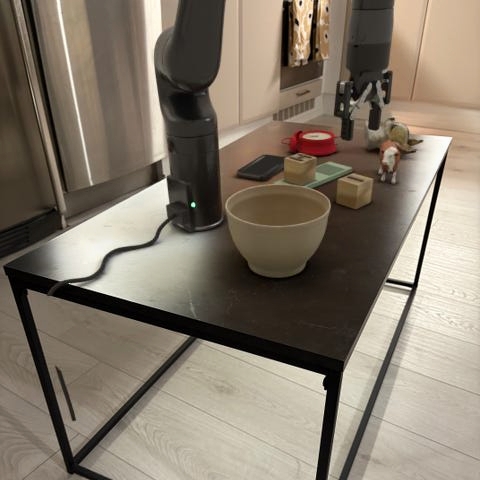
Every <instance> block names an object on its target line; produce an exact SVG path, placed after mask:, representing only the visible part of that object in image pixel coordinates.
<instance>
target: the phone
mask: <svg viewBox="0 0 480 480" xmlns="http://www.w3.org/2000/svg"><path fill="white" fill-rule="evenodd" d="M286 157H287V156H283V155H282V156H281V155H273V154H269V153H268V154H265V153H264V154H262V155H260V156H258V157H256V158H255V159H254V160H252V161H250V162H249V163H247V164H245V165H244V166H242V167H241V168H239V169H237V170H236V177H237V178H240V179H241V178H242V179H247V180H253V181H259V182H264V181H267V180H269V179H270V178H271V177H273V176H275V175H277V173H279V172H280V171H282V170H284V158H286Z"/></svg>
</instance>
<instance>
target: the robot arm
mask: <svg viewBox="0 0 480 480" xmlns="http://www.w3.org/2000/svg"><path fill="white" fill-rule="evenodd" d="M226 3H227V0H178V2H177V8H176V14H175V19H174V25H171V26H169V27H167V28H165V29H164V30H163V31H162V32H161V33H160V34H159V36H157V39H156V41H155V44H154V47H153V48H154V49H153V67H154V75H155V82H156V90H157V97H158V104H159V111H160V114H161V116H162V119H163V122H164V129H165V137H166V146H167V154H168V164H169V173H170V174H168V175H166V186H167V196H168V201H169V202H168V204H166V205H165V210H166V217H167V218H166V219H165V220H164V221H163V222H162V223H161V224H160V225H159V226H158V228H157V229H156V232H155V235H154V237H153V238H152V239H151V240H149V241H147V242H145V243H141V244H136V245H127V246H119V247H117V248H113V249H112V250H110V251H108V252H107V253H106V254H105V255H104V257H103V259H102V260H101V264H100V267H99V268H98V270H96V271H95V272H94V273H92V274H91V275H88V276H83V277H75V278H68V279H64V280H61V281H58V282H57V283H55V284H53V286H52V287H51V288H50V289H49V290H48V292H47V293H46V296H47V297H51V296H53V295H54V293H55V292H56V291H57V290H58V289H59V288H61V287H63V286H65V285H66V286H67V285H69V283H70V284H78V283H86V282H90V281H93V280H95V279H97V278H98V277H99V276H100V275H102V273H103V272H104V270H105V268H106V265H107V263H108V261H109V259H110V258H111V257H112V256H114V255H115V254H118V253H120V252H125V251H133V250H134V251H135V250H139V249H145V248H148V247H150V246H152V245H153V244H156V242H157V241H158V240H159V238H160V236H161V233H162V230H163V229H164V228H165V227H166V226H167V225H168V224H170V222H171V225H174V226H176V227H178V228H180V229H182V230H184V231H186V232H188V233H193V232H199V231H207V230H212V229H214V228H217V227H219V226H220V225H221V224H222V223H223V221H224V214H223V199H222V198H223V197H222V182H221V181H222V180H221V179H222V178H221V162H220V160H221V159H220V143H219V142H220V140H219V124H218V123H219V121H218V114H217V112H216V110H215V108H214V105H213V103H212V100H211V96H210V87H211V86H212V85H213V83H214V82H215V81H216V79H217V78H218V77H217V76H218V74H219V71H220V68H221V62H222V54H223V40H224V39H223V38H224V27H225V26H224V25H225V13H226ZM395 3H396V0H351V7H350V8H351V9H350V16H349V20H348V27H347V41H346V51H345V52H346V54H345V69H347V70H348V71H349V77H348V80H340V79H339V80H337V81H336V87H335V95H334V107H333V117H335V118H340V120H341V123H340V125H341V126H340V136H341V138H340V139H341V140H342V141H347V142H350V141H352V140H353V138H354V130H355V116H356V115H357V112H358V110H360V109H362V107H363V105H364V104H365V103H366V102H367V103H368V105H369V107H370V109H369V113H368V129H369V130H374V131H376V130H379V127H380V124H381V119H382V112H383V110H384V109H385V106H386V105H387V106H388V105H390V103H391V98H392V97H391V96H392V87H393V74H394V72H393V70H388V68H389V66H390V59H391V58H390V57H391V49H392V43H393V42H392V41H393V33H394V24H395V23H394V21H395V16H394V15H395V14H394V13H395ZM384 92H385V93H384ZM341 104H342V105H343V106H342V107H341ZM350 108H351V109H350ZM54 368H55V371H56V374H57V375H56V376H57V378H58V381H59V384H60V386H61V390H62V393H63V395H64V398H65V402H66V405H67V408H68V412H69V415H70V419H71V421H72V422H76V421H77V417H76V414H75V410H74V406H73V404H72V400H71V397H70V394H69V390H68V388H67V385H66V382H65V379H64V376H63V375H64V374H63V372H62V370H61V369H60V368H59V367H58V366H57V365H56V364H54Z"/></svg>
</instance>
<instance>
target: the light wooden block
mask: <svg viewBox="0 0 480 480" xmlns="http://www.w3.org/2000/svg"><path fill="white" fill-rule="evenodd" d="M285 157H286V158H284V168H283V179H284V180H285V181H288V182H291V183H294V184H297V185H300V186H301V185H303V184H306V183H308V182H311V181H314V180H315V177H316V166H317V156H313V155H305V154H301V153H299V152H298V153H294V154H292V155H289V156H285Z"/></svg>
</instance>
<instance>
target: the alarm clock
mask: <svg viewBox="0 0 480 480" xmlns="http://www.w3.org/2000/svg"><path fill="white" fill-rule="evenodd" d="M337 138H340V139H341V135H340V136H335V133H333V132H331V131H328V130H317V129H315V130H307V131H302V130H296V131H295V132H294V133H293V135H292V136H291V137H286V138H285V137H284V138H282V139H281V141H280V143H281V144H283V145H287V146H289V150H290V152H291V153H292V154H297V152H298V153H301V154H305V155H309V156H327V155H331V154H334V153H335V152H338V150H337V147H336V146H338V143H335V140H336V139H337ZM284 140H289V143H287V142H283V141H284Z"/></svg>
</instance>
